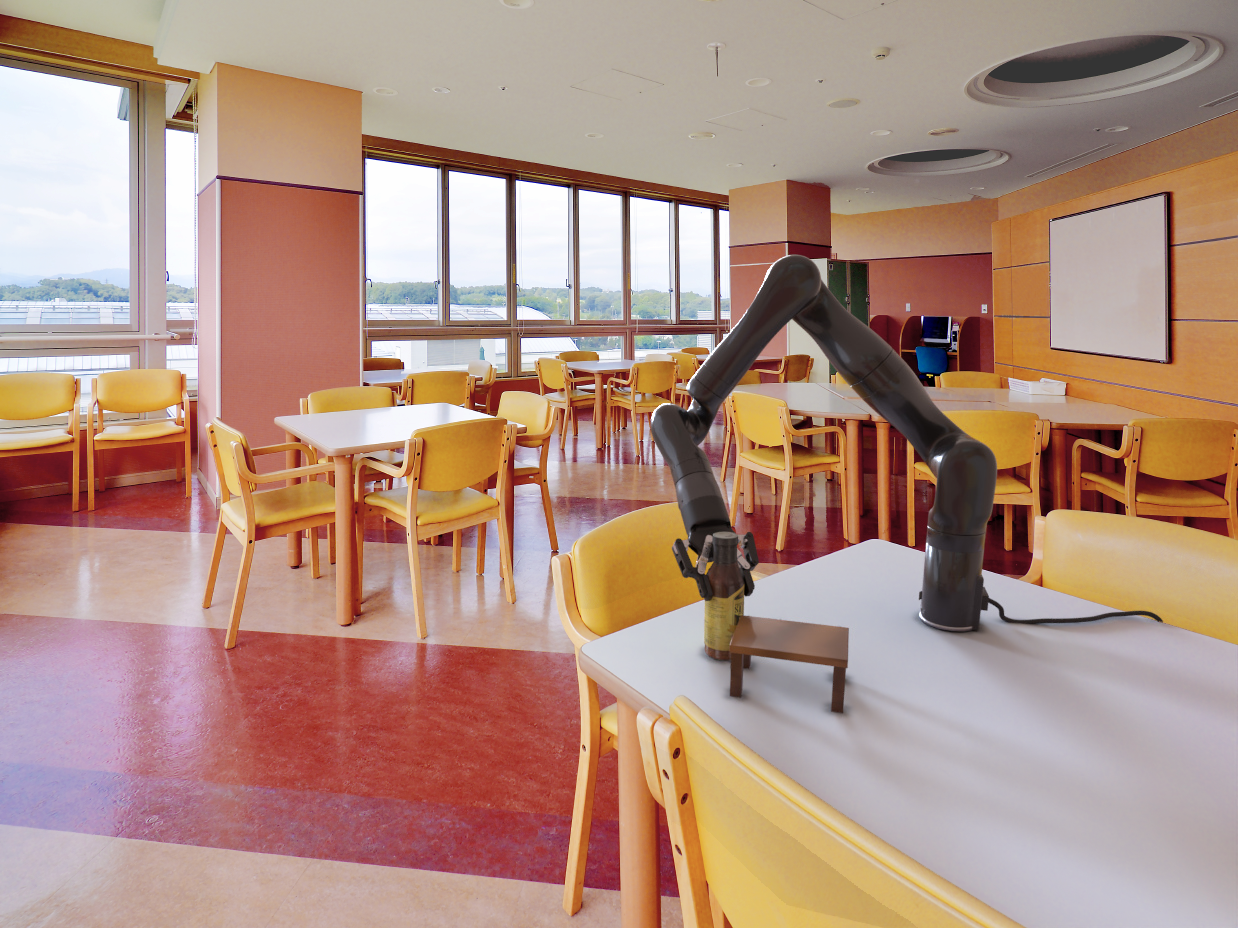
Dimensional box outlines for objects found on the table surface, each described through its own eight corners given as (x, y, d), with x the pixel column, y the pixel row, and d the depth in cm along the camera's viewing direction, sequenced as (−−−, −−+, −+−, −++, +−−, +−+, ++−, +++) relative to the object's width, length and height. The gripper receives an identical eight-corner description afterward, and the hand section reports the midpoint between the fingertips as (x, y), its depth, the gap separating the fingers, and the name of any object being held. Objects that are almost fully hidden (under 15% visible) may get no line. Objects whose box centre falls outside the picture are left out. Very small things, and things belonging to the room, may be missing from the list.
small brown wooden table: (845, 676, 110) (848, 627, 109) (844, 714, 100) (848, 660, 98) (739, 662, 115) (741, 614, 113) (728, 696, 105) (729, 644, 103)
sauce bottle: (742, 663, 114) (745, 542, 110) (702, 660, 116) (703, 540, 112) (743, 645, 121) (746, 530, 117) (705, 642, 122) (707, 528, 118)
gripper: (667, 496, 118) (693, 591, 110) (747, 490, 122) (779, 581, 113) (656, 519, 124) (680, 611, 116) (733, 513, 128) (762, 601, 120)
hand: (729, 596), depth 115 cm, fingers closed on sauce bottle, 6 cm apart
